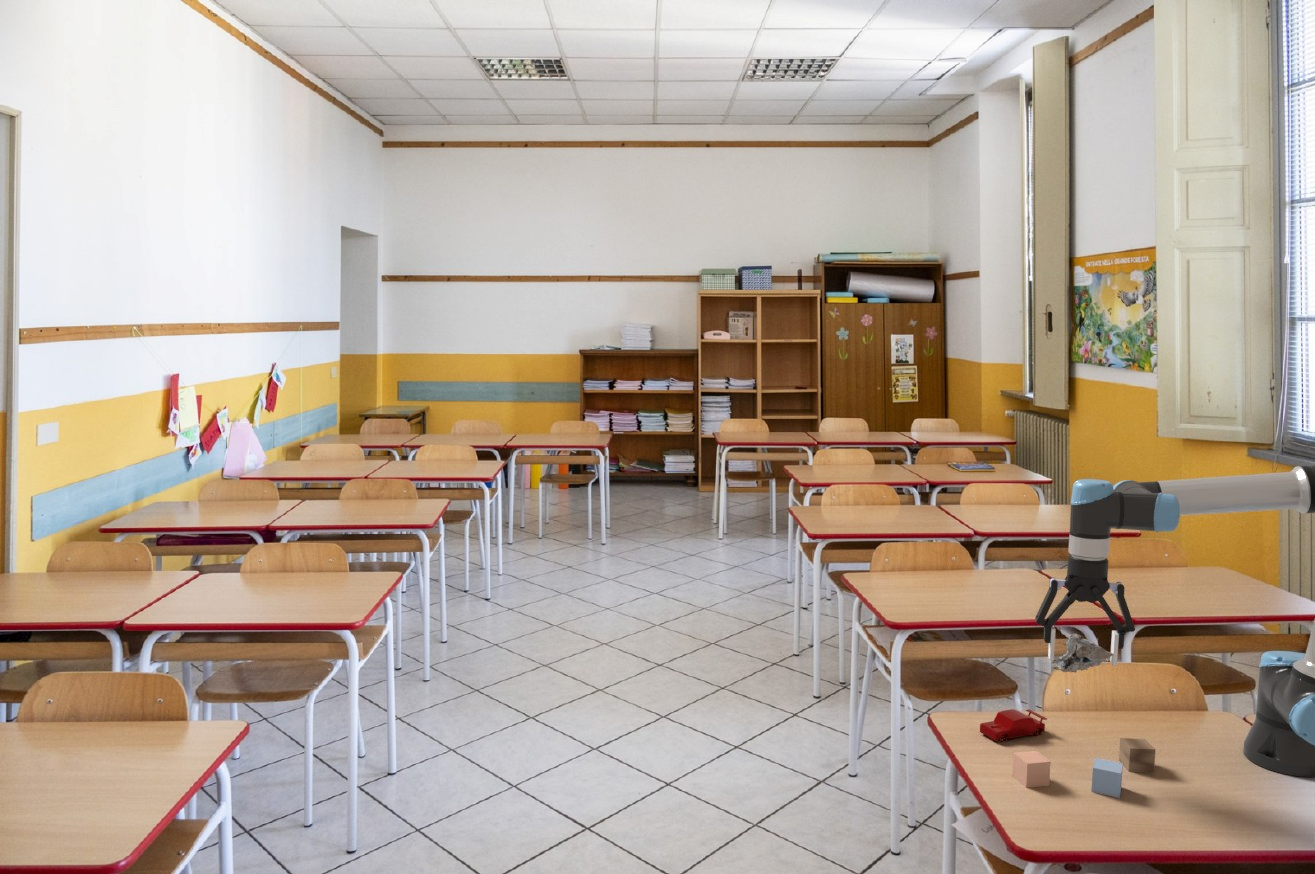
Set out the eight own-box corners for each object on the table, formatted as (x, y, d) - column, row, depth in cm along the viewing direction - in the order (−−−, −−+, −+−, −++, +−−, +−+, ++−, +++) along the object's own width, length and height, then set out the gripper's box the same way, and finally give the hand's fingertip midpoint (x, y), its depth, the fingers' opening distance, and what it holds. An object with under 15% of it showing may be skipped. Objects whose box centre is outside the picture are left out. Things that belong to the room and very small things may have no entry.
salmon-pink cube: (1034, 774, 196) (1036, 750, 195) (1049, 785, 191) (1050, 761, 191) (1012, 776, 195) (1013, 752, 195) (1026, 787, 190) (1027, 763, 190)
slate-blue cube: (1121, 787, 191) (1122, 763, 190) (1119, 798, 186) (1121, 773, 186) (1093, 781, 193) (1095, 757, 193) (1091, 792, 189) (1092, 767, 188)
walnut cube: (1143, 761, 202) (1145, 738, 202) (1153, 772, 197) (1155, 749, 197) (1118, 760, 203) (1120, 737, 202) (1128, 771, 198) (1130, 748, 197)
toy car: (1028, 726, 220) (1029, 705, 220) (1046, 735, 215) (1047, 714, 215) (978, 735, 215) (979, 714, 215) (996, 745, 210) (997, 723, 209)
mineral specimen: (1068, 687, 201) (1093, 691, 191) (1038, 661, 202) (1061, 664, 192) (1095, 652, 203) (1121, 654, 193) (1065, 625, 203) (1090, 626, 194)
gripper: (1147, 555, 197) (1140, 659, 199) (1024, 548, 202) (1018, 649, 205) (1156, 564, 189) (1149, 672, 192) (1028, 556, 195) (1023, 661, 198)
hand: (1082, 660), depth 198 cm, fingers closed on mineral specimen, 11 cm apart
